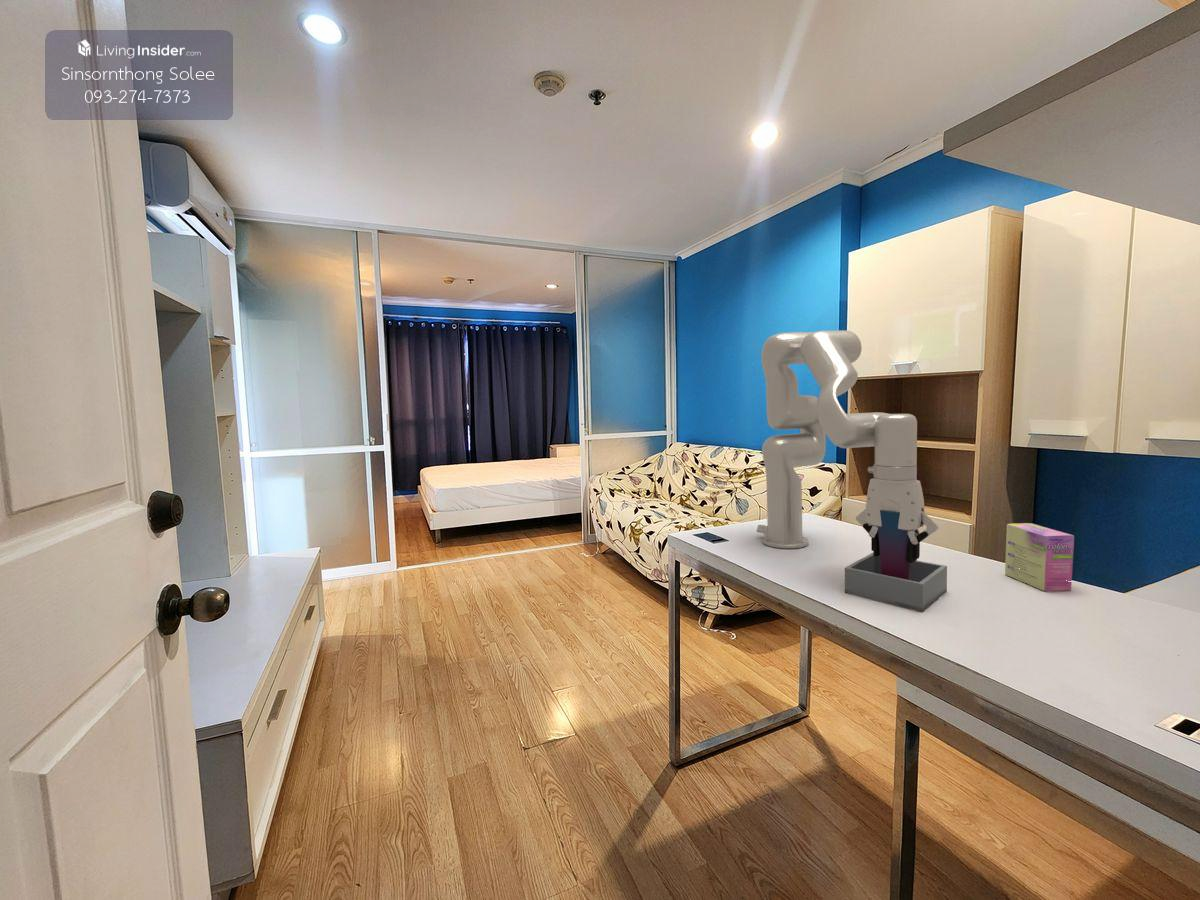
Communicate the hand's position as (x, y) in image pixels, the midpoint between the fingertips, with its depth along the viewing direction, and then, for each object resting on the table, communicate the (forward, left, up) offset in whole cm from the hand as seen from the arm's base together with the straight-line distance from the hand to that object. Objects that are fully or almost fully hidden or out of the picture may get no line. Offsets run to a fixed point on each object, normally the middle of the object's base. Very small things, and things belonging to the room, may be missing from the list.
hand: (894, 557), depth 105 cm
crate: (0, 0, -8) cm, 8 cm away
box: (+19, +25, -8) cm, 32 cm away
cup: (0, 0, -5) cm, 5 cm away
